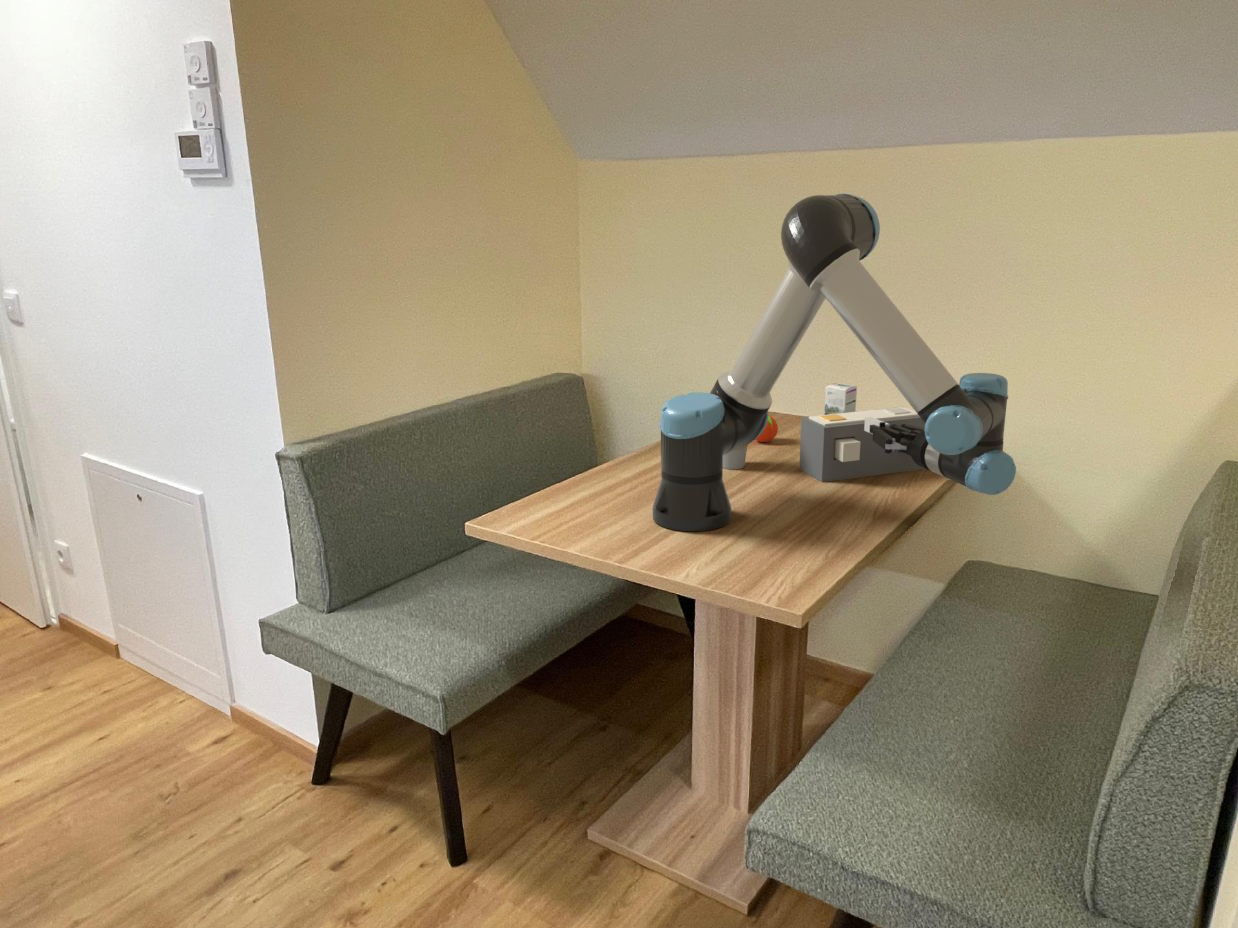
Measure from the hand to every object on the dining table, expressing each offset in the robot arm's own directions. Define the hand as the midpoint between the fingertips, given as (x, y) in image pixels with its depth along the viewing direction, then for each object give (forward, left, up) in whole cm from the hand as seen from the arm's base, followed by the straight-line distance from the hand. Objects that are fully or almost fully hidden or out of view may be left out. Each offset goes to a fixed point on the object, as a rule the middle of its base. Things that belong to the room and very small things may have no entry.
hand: (867, 423), depth 179 cm
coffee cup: (+13, +29, -14) cm, 35 cm away
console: (+15, 0, -14) cm, 21 cm away
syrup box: (+36, +5, -15) cm, 39 cm away
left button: (+6, +4, -9) cm, 12 cm away
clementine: (+34, +23, -15) cm, 43 cm away
